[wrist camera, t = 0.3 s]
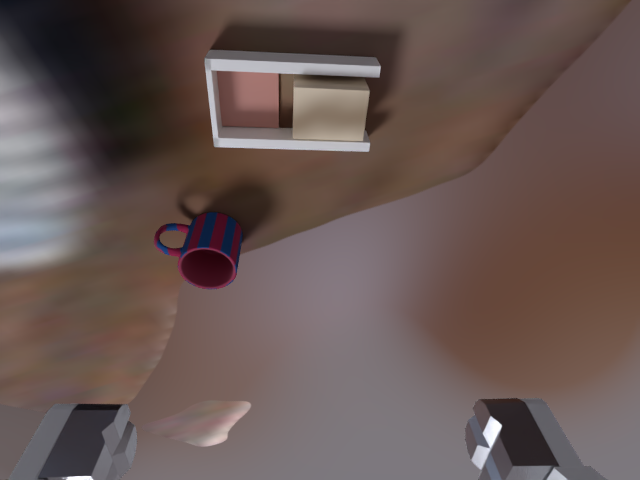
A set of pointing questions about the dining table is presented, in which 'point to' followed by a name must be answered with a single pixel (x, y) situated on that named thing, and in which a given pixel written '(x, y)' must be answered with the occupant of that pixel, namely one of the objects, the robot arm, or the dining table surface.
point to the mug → (206, 250)
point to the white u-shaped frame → (270, 96)
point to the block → (329, 107)
